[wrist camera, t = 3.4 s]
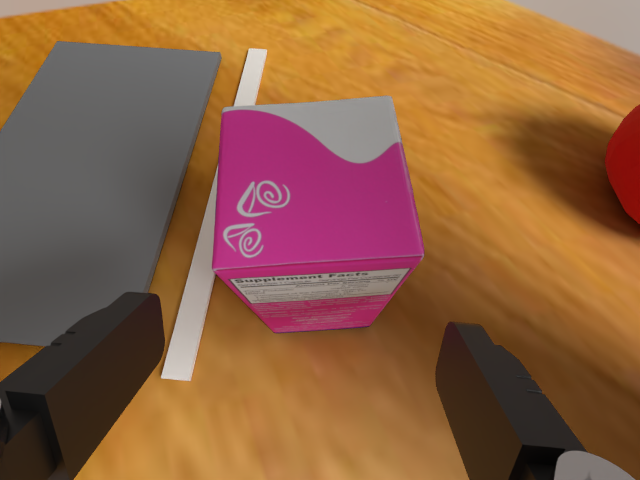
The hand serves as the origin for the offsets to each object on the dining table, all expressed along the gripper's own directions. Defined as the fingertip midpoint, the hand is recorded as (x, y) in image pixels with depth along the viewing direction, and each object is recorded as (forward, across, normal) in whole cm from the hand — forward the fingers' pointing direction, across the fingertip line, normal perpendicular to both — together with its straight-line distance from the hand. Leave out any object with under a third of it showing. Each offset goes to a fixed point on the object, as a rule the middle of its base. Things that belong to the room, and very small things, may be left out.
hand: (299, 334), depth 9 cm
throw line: (+15, +7, -1) cm, 16 cm away
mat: (+15, +17, -1) cm, 23 cm away
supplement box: (+10, 0, +4) cm, 11 cm away
